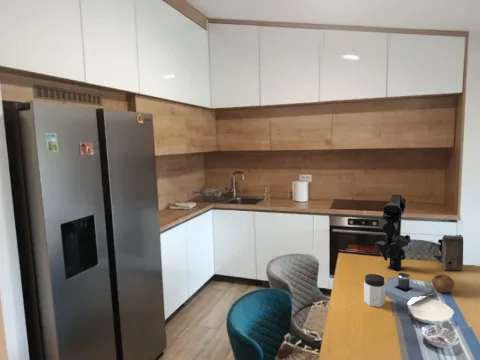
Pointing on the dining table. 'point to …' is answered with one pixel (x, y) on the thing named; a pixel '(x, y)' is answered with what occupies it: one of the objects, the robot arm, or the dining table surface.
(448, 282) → the onion
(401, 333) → the dining table surface
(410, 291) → the mount block
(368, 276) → the jar
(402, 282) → the lens
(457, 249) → the vintage camera
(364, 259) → the dining table surface
